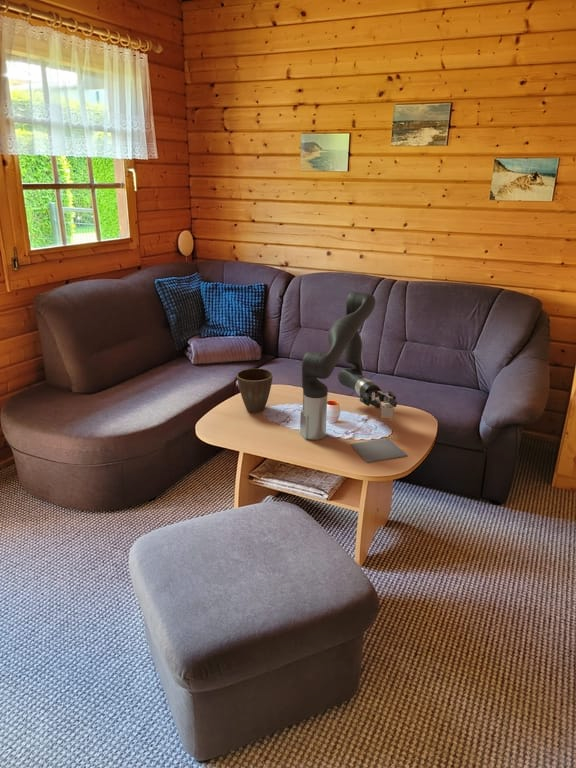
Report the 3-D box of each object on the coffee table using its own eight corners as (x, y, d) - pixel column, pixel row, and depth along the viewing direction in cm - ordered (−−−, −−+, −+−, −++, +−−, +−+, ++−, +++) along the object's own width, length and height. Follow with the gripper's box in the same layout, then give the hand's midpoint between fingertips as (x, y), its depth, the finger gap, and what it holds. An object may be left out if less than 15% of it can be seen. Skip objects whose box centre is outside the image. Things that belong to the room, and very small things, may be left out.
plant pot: (252, 419, 227) (252, 383, 221) (230, 408, 237) (229, 373, 231) (279, 410, 236) (280, 375, 230) (257, 399, 246) (257, 365, 241)
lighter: (391, 416, 216) (393, 397, 213) (392, 418, 214) (394, 399, 211) (373, 415, 216) (375, 396, 213) (373, 417, 214) (375, 398, 211)
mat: (367, 462, 195) (367, 461, 195) (350, 445, 207) (350, 443, 207) (407, 456, 200) (407, 455, 200) (388, 439, 212) (388, 438, 212)
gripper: (352, 382, 221) (371, 398, 206) (384, 379, 225) (405, 394, 211) (350, 400, 224) (369, 416, 209) (382, 396, 228) (403, 412, 213)
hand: (387, 405), depth 210 cm, fingers closed on lighter, 6 cm apart
